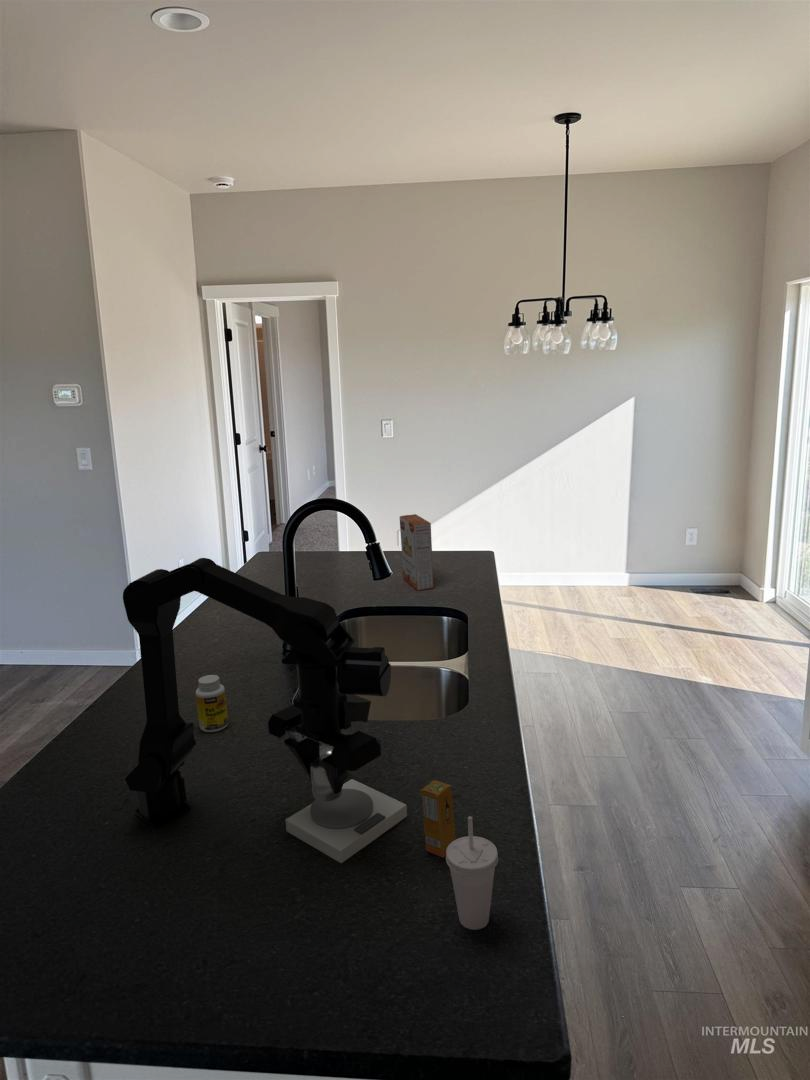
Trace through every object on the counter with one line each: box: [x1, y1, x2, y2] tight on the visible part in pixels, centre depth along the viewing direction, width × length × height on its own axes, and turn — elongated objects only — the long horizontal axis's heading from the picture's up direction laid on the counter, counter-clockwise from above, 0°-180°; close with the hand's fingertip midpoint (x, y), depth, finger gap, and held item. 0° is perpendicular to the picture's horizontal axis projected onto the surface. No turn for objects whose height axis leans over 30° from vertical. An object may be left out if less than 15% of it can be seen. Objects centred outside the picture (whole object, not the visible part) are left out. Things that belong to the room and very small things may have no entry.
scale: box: [285, 778, 408, 864], centre depth 114 cm, size 14×12×3 cm
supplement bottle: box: [195, 674, 229, 733], centre depth 146 cm, size 6×6×10 cm
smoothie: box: [445, 815, 499, 931], centre depth 92 cm, size 6×6×14 cm
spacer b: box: [319, 744, 333, 756], centre depth 127 cm, size 4×4×5 cm
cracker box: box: [399, 513, 435, 591], centre depth 231 cm, size 14×6×21 cm, turn 17°
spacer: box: [310, 755, 342, 802], centre depth 111 cm, size 4×4×5 cm
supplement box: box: [420, 779, 457, 859], centre depth 106 cm, size 3×3×10 cm
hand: (326, 787), depth 111 cm, fingers closed on spacer, 4 cm apart
